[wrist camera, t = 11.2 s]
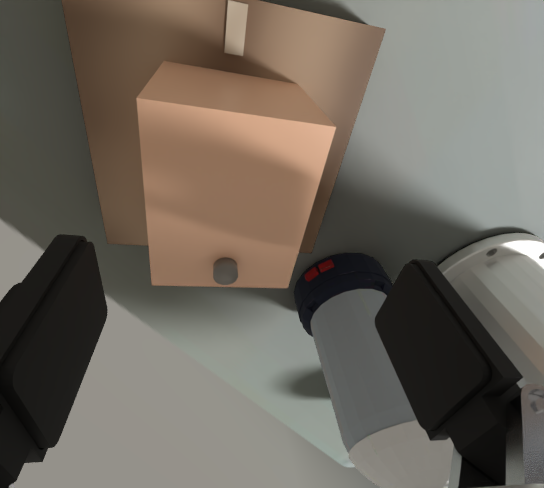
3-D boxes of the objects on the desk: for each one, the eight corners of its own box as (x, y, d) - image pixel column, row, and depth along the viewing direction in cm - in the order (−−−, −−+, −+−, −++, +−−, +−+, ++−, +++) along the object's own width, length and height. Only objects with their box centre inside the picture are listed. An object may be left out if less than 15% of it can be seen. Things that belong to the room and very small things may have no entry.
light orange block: (298, 84, 15) (342, 133, 9) (270, 216, 19) (289, 297, 14) (163, 60, 13) (131, 103, 8) (168, 209, 18) (149, 296, 13)
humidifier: (315, 245, 24) (728, 1300, 5) (401, 260, 26) (902, 987, 7) (280, 312, 28) (413, 979, 9) (356, 320, 31) (586, 858, 12)
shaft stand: (368, 25, 15) (445, 42, 10) (305, 235, 23) (330, 304, 18) (72, -42, 12) (-27, -64, 7) (115, 224, 20) (82, 302, 15)
